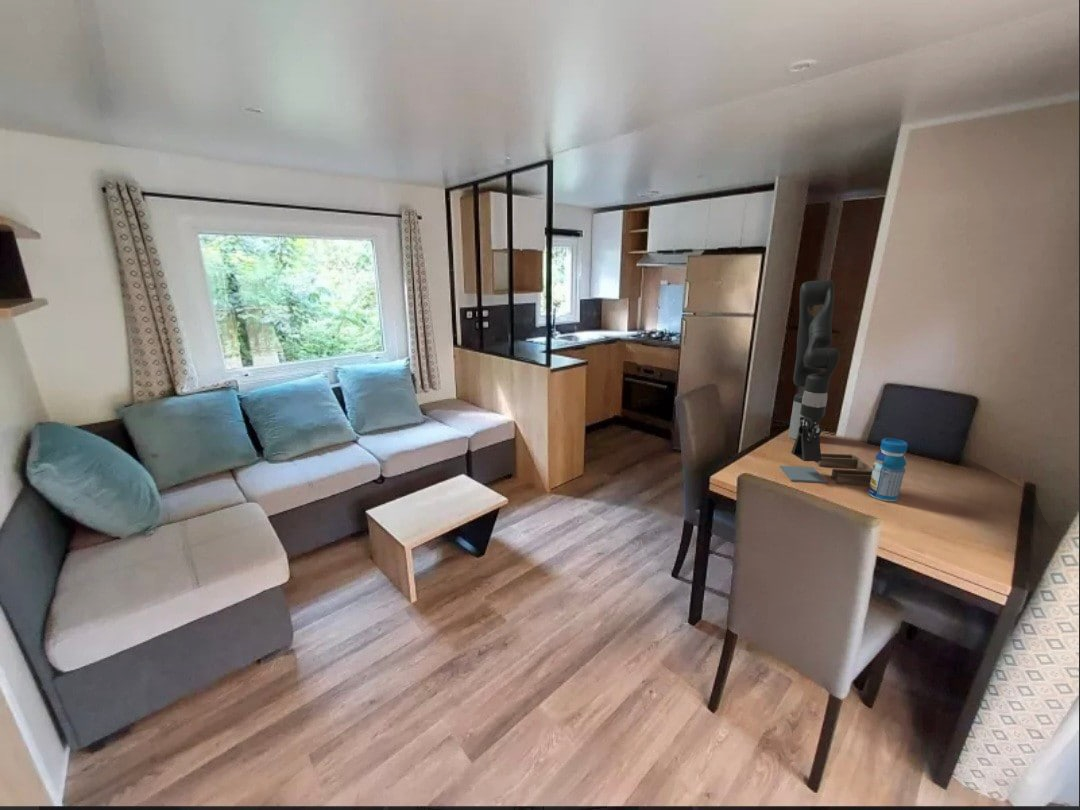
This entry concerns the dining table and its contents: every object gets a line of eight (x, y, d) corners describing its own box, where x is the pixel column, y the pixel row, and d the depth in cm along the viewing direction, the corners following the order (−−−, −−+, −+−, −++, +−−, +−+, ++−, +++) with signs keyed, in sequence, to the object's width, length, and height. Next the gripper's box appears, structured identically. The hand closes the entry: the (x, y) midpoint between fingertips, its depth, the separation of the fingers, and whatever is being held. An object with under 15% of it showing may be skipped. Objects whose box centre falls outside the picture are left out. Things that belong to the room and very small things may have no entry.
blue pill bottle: (887, 504, 144) (900, 447, 138) (861, 493, 151) (872, 439, 145) (904, 499, 147) (917, 443, 141) (877, 488, 154) (889, 435, 148)
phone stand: (791, 453, 167) (794, 422, 164) (806, 452, 167) (810, 422, 164) (804, 461, 159) (808, 430, 156) (821, 461, 158) (825, 429, 156)
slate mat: (779, 467, 172) (779, 465, 172) (812, 469, 170) (813, 467, 170) (791, 481, 161) (791, 479, 160) (826, 483, 159) (827, 481, 158)
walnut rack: (813, 461, 177) (815, 453, 176) (852, 462, 175) (853, 454, 174) (837, 483, 158) (839, 474, 157) (880, 485, 156) (882, 476, 155)
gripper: (795, 397, 164) (788, 440, 169) (810, 408, 151) (803, 454, 156) (816, 398, 163) (809, 441, 168) (834, 409, 150) (826, 455, 155)
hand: (806, 447), depth 162 cm, fingers closed on phone stand, 3 cm apart
